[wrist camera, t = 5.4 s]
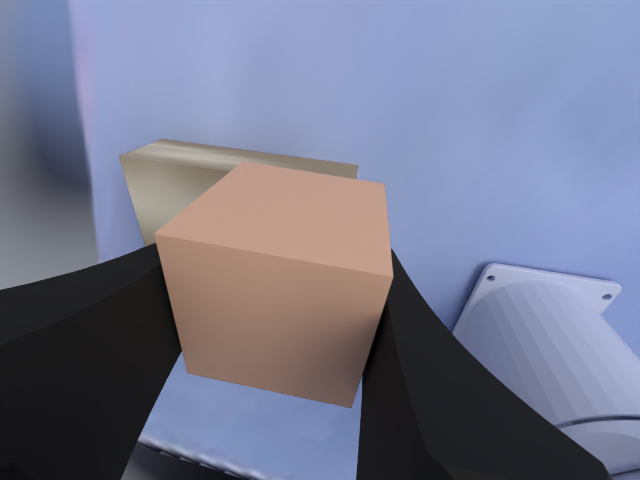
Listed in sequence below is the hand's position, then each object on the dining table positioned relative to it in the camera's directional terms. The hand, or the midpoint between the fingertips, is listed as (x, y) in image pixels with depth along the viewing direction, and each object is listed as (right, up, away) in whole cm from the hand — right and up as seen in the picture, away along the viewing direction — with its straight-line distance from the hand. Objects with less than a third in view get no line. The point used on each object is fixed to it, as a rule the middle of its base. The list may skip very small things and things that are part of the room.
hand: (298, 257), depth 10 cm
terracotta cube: (0, +1, +1) cm, 2 cm away
